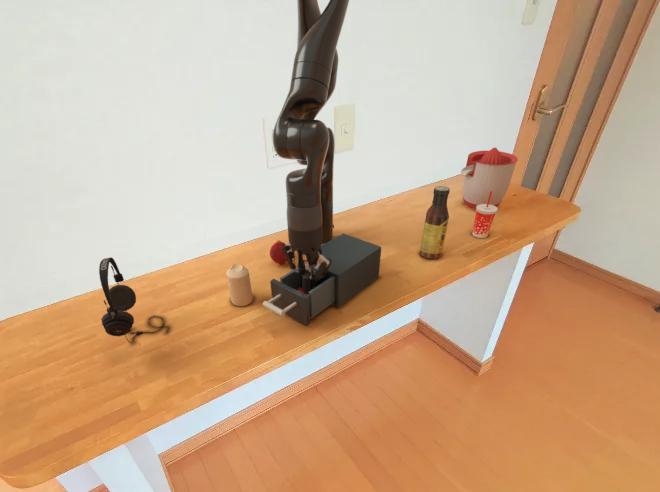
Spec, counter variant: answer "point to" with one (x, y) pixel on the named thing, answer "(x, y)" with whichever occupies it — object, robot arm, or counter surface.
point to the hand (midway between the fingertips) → (307, 288)
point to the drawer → (301, 297)
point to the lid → (304, 285)
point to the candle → (239, 285)
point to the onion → (278, 252)
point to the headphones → (117, 302)
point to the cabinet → (351, 265)
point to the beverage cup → (483, 219)
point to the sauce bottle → (435, 224)
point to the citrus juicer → (487, 177)
